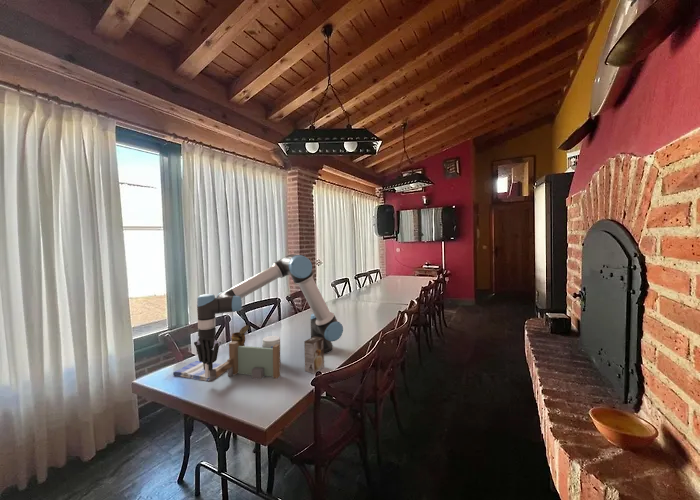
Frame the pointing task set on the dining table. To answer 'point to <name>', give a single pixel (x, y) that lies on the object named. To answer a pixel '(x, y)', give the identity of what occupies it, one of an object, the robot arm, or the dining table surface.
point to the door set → (254, 361)
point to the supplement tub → (270, 341)
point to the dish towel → (195, 371)
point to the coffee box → (314, 354)
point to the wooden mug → (240, 336)
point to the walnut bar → (221, 369)
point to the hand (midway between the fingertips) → (208, 376)
